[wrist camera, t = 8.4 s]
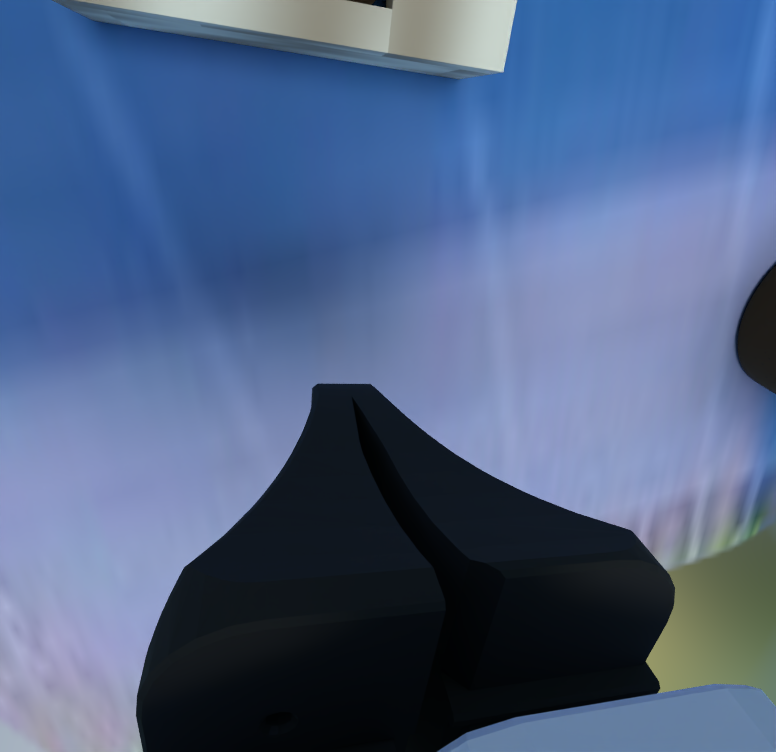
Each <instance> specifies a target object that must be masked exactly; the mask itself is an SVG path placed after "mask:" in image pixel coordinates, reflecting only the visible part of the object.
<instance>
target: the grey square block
mask: <svg viewBox="0 0 776 752" xmlns="http://www.w3.org/2000/svg"><path fill="white" fill-rule="evenodd" d="M53 1H55V2H57V3H59V4H61V5H63V6H65V7H67V8H69V9H71V10H73V11H75V12H77V13H79V14H81V15H83V16H85V17H87V18H89V19H91V20H93V21H99V22H105V23H111V24H118V25H124V26H130V27H136V28H143V29H149V30H155V31H161V32H167V33H174V34H180V35H186V36H192V37H199V38H205V39H211V40H217V41H224V42H230V43H236V44H242V45H248V46H255V47H261V48H267V49H273V50H280V51H286V52H292V53H298V54H305V55H311V56H317V57H323V58H329V59H336V60H342V61H348V62H354V63H361V64H367V65H373V66H379V67H386V68H392V69H398V70H404V71H410V72H417V73H423V74H429V75H435V76H442V77H448V78H454V79H464V78H470V77H476V76H483V75H489V74H495V73H502V72H503V71H504V66H505V60H506V55H507V50H508V45H509V40H510V34H511V29H512V24H513V19H514V13H515V8H516V3H517V0H386V8H384V7H379V6H373V5H368V4H363V3H357V2H352V1H347V0H53Z"/></svg>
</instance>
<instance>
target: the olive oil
mask: <svg viewBox="0 0 776 752" xmlns="http://www.w3.org/2000/svg"><path fill="white" fill-rule="evenodd" d="M738 355H739V360H740V363H741V365H742V367H743V369H744V371H745V372H746V373H747V375H748V376H749V377H751V378H752V379H753V380H754V381H756V382H757V383H759V384H760V385H762V386H763V387H765V388H767V389H768V390H770V391H772V392H773V393H775V394H776V265H775V266H774V268H773V269H772V270H771V271H770V272H769V273H768V275H767V276H766V277H765V278H764V280H763V281H762V282H761V284H760V285H759V287H758V288H757V290H756V291H755V293H754V295H753V296H752V298H751V300H750V302H749V304H748V306H747V308H746V310H745V313H744V315H743V318H742V321H741V325H740V329H739V334H738Z"/></svg>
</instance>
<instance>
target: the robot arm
mask: <svg viewBox="0 0 776 752" xmlns="http://www.w3.org/2000/svg"><path fill="white" fill-rule="evenodd" d="M674 595H675V587H674V584H673V582H672V580H671V577H670V575H669V574H668V573H667V571H666V570H665V569H664V568H663V567H662V566H661V564H660V563H659V562H658V561H657V560H656V559H655V557H654V556H653V555H652V554H651V553H650V552H649V550H648V549H647V548H646V547H645V546H644V544H643V543H642V542H641V541H640V540H639V539H638V537H637V536H636V535H635V534H634V533H633V532H632V531H631V530H628V529H625V528H622V527H619V526H616V525H612V524H609V523H606V522H603V521H600V520H597V519H593V518H590V517H587V516H584V515H581V514H578V513H575V512H572V511H569V510H567V509H564V508H562V507H559V506H557V505H554V504H552V503H549V502H546V501H544V500H541V499H539V498H537V497H534V496H532V495H530V494H528V493H525V492H523V491H521V490H519V489H517V488H515V487H513V486H511V485H509V484H507V483H505V482H503V481H501V480H499V479H497V478H495V477H493V476H491V475H489V474H487V473H486V472H484V471H482V470H480V469H478V468H477V467H475V466H474V465H472V464H470V463H469V462H467V461H465V460H464V459H462V458H461V457H459V456H457V455H456V454H454V453H453V452H451V451H450V450H448V449H447V448H446V447H444V446H443V445H442V444H440V443H439V442H438V441H436V440H435V439H433V438H432V437H431V436H429V435H428V434H427V433H426V432H424V431H423V430H422V429H421V428H419V427H418V426H417V425H416V424H415V423H413V422H412V421H411V420H410V419H409V418H408V417H406V416H405V415H404V414H403V413H402V412H401V411H400V410H399V409H397V408H396V407H395V406H394V405H393V404H392V403H391V402H390V401H389V400H388V399H387V398H385V397H384V396H383V395H382V394H381V393H380V392H379V391H378V390H377V389H376V388H375V387H373V386H372V385H371V384H317V385H316V386H314V387H313V388H312V404H311V410H310V414H309V416H308V419H307V422H306V424H305V427H304V430H303V432H302V434H301V436H300V438H299V440H298V442H297V444H296V446H295V448H294V450H293V452H292V454H291V455H290V457H289V459H288V460H287V462H286V464H285V465H284V467H283V468H282V470H281V471H280V473H279V474H278V476H277V477H276V479H275V480H274V481H273V482H272V484H271V485H270V486H269V488H268V489H267V490H266V491H265V493H264V494H263V495H262V496H261V498H260V499H259V500H258V501H257V502H256V503H255V505H254V506H253V507H252V508H251V509H250V510H249V511H248V512H247V513H246V514H245V515H244V516H243V517H242V518H241V519H240V520H239V521H238V522H237V523H236V524H235V525H234V526H233V527H232V528H231V529H230V530H229V531H228V532H227V533H226V534H225V535H224V536H223V537H221V538H220V539H219V540H218V541H217V542H215V543H214V544H213V545H212V546H210V547H209V548H208V549H207V550H206V551H204V552H203V553H202V554H201V555H199V556H198V557H197V558H196V559H195V560H193V561H192V562H191V563H189V564H188V565H187V566H185V567H184V569H183V571H182V573H181V574H180V576H179V578H178V580H177V582H176V584H175V586H174V588H173V590H172V592H171V594H170V596H169V598H168V600H167V603H166V605H165V607H164V609H163V611H162V613H161V616H160V618H159V621H158V623H157V626H156V628H155V631H154V634H153V637H152V640H151V642H150V645H149V648H148V651H147V655H146V659H145V663H144V667H143V672H142V676H141V681H140V685H139V689H138V694H137V707H136V717H137V723H138V728H139V733H140V738H141V743H142V748H143V752H776V706H775V705H774V704H773V703H772V702H771V701H770V699H769V698H768V697H767V696H766V694H765V693H764V692H763V691H762V690H761V689H758V688H754V687H750V686H747V685H728V684H726V685H725V684H712V685H705V686H699V687H693V688H688V689H682V690H676V691H670V692H664V693H658V691H659V689H660V685H659V681H658V679H657V678H656V676H655V675H654V674H653V672H652V670H651V669H650V668H649V666H648V665H647V663H646V662H645V661H646V659H647V657H648V656H649V654H650V652H651V650H652V649H653V647H654V645H655V643H656V641H657V640H658V638H659V636H660V634H661V633H662V631H663V629H664V627H665V626H666V624H667V622H668V619H669V616H670V614H671V612H672V609H673V606H674ZM657 693H658V694H657Z"/></svg>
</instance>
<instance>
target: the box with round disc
mask: <svg viewBox="0 0 776 752" xmlns="http://www.w3.org/2000/svg"><path fill="white" fill-rule="evenodd" d="M347 1H352V2H357V3H363V4H368V5H372V4H373V3H374V2H375V1H376V0H347Z"/></svg>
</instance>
